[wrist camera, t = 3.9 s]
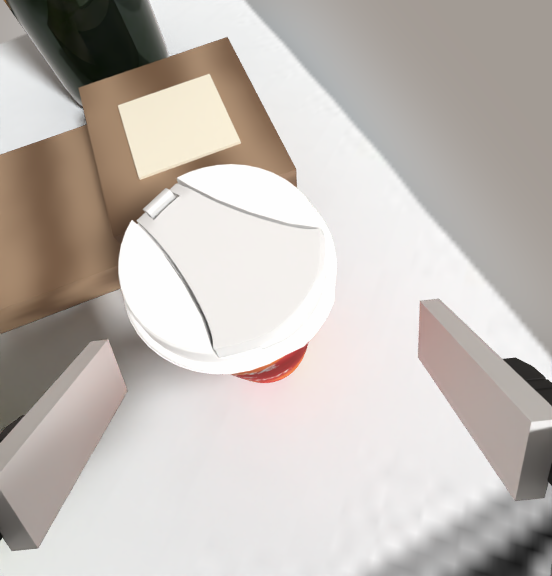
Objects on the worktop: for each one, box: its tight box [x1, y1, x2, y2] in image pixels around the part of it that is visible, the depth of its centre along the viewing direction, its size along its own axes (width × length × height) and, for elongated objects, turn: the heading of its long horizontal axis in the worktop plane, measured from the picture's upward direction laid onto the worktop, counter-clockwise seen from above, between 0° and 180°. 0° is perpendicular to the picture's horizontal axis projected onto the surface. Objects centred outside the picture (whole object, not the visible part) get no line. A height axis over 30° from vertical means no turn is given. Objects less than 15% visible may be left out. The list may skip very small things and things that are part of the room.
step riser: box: [0, 37, 297, 334], centre depth 26 cm, size 24×14×6 cm, turn 111°
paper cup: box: [118, 164, 337, 383], centre depth 18 cm, size 8×8×14 cm
